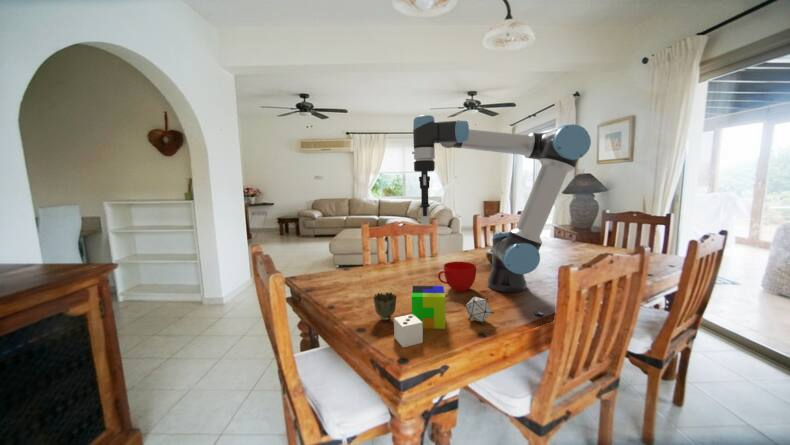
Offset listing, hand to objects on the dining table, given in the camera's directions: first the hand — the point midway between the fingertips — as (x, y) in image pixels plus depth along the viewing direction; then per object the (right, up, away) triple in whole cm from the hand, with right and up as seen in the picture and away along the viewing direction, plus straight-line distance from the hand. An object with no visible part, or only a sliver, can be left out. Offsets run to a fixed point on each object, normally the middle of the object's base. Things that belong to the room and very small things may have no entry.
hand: (425, 224), depth 115 cm
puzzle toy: (-1, -31, -16) cm, 35 cm away
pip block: (-8, -32, -28) cm, 43 cm away
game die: (+15, -31, -17) cm, 38 cm away
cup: (-14, -31, -15) cm, 37 cm away
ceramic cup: (+14, -27, +11) cm, 32 cm away
